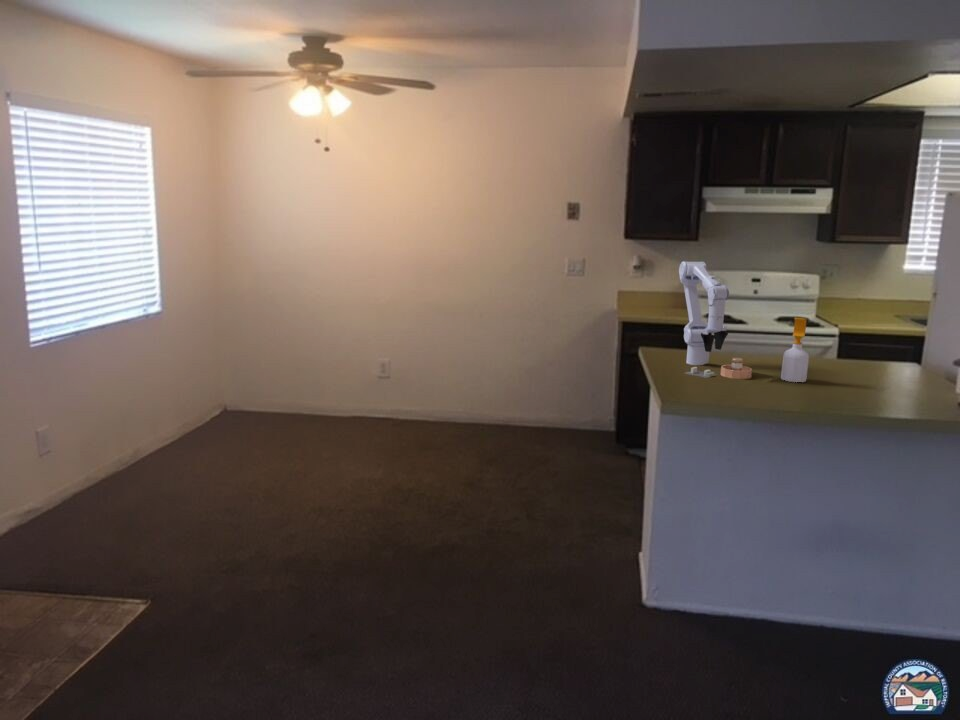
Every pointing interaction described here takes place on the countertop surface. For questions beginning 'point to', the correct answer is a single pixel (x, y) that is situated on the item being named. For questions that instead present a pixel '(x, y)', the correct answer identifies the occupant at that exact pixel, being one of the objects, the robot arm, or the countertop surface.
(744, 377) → the cup
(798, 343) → the soap bottle
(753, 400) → the countertop surface
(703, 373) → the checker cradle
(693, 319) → the robot arm
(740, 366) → the battery cell
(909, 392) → the countertop surface
